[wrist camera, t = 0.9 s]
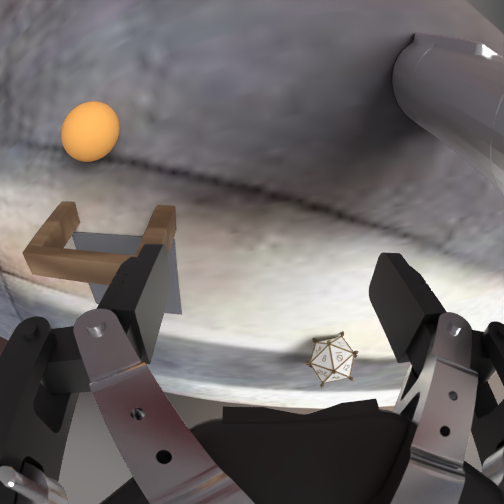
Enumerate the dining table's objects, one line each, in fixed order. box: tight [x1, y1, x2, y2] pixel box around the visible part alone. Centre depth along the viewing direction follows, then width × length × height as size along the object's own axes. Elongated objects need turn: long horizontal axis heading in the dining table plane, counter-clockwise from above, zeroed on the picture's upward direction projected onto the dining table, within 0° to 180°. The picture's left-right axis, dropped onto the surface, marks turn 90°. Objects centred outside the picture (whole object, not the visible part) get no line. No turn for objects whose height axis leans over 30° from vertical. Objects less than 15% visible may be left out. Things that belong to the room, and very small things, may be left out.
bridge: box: [23, 202, 176, 285], centre depth 28 cm, size 3×15×9 cm, turn 84°
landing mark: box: [72, 232, 182, 315], centre depth 38 cm, size 14×14×1 cm
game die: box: [305, 331, 358, 388], centre depth 45 cm, size 9×8×10 cm
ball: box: [61, 101, 120, 162], centre depth 22 cm, size 6×6×6 cm
